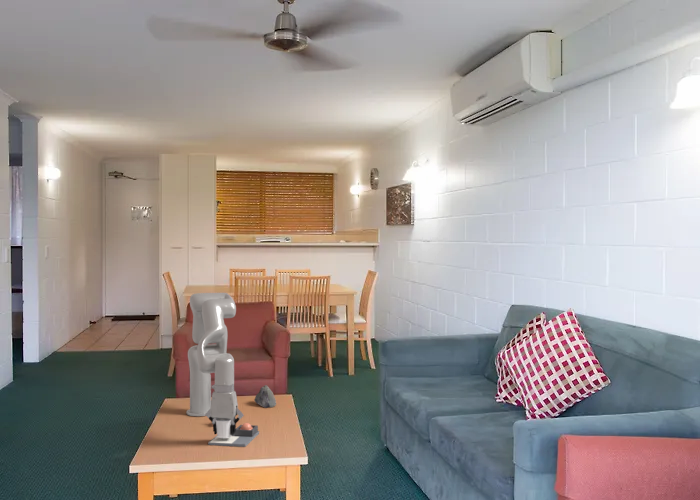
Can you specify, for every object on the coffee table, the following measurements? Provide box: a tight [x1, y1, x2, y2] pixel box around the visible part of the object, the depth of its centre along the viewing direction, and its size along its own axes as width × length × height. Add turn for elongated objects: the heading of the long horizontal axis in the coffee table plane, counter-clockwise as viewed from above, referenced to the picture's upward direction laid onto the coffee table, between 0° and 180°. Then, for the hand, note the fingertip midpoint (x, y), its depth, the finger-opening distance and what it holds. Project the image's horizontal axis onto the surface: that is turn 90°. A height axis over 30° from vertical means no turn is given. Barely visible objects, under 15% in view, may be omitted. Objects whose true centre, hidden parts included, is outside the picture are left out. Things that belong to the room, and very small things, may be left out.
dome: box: [240, 422, 253, 430], centre depth 264 cm, size 5×5×4 cm
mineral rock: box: [253, 384, 277, 408], centre depth 316 cm, size 13×11×10 cm
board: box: [207, 424, 260, 448], centre depth 260 cm, size 18×15×4 cm
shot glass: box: [216, 418, 232, 438], centre depth 256 cm, size 7×7×7 cm
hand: (224, 433), depth 256 cm, fingers closed on shot glass, 6 cm apart
